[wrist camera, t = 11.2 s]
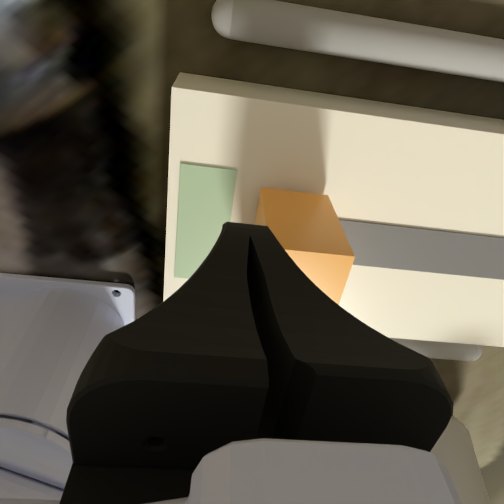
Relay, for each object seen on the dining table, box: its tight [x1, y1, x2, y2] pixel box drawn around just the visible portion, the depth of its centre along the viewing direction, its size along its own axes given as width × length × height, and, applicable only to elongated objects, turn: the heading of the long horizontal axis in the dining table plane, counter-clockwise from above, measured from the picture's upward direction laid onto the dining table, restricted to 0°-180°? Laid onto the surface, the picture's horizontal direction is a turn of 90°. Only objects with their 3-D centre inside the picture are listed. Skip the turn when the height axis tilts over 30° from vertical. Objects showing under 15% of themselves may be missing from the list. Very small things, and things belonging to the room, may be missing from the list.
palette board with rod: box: [211, 0, 504, 361], centre depth 22 cm, size 20×19×2 cm
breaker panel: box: [163, 72, 504, 347], centre depth 21 cm, size 22×12×3 cm, turn 82°
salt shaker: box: [430, 415, 490, 504], centre depth 28 cm, size 6×6×13 cm
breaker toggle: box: [254, 187, 355, 305], centre depth 17 cm, size 3×5×5 cm, turn 171°
